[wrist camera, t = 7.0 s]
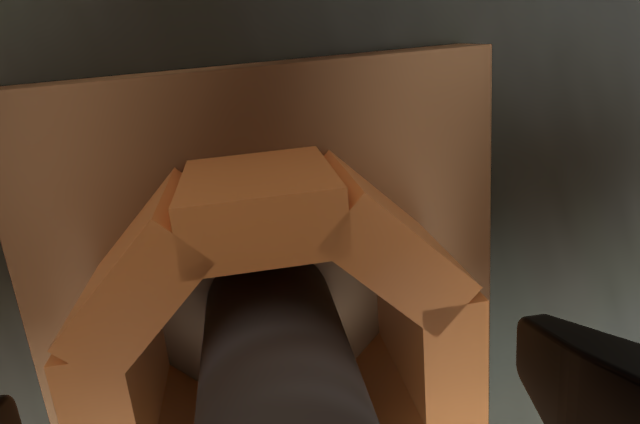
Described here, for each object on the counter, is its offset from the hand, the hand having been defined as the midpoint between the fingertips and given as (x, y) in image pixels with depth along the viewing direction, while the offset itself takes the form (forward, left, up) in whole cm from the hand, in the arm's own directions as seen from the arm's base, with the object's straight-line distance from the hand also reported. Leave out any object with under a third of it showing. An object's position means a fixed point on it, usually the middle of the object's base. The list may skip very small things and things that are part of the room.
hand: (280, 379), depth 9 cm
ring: (0, 0, -2) cm, 3 cm away
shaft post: (0, 0, -4) cm, 4 cm away
